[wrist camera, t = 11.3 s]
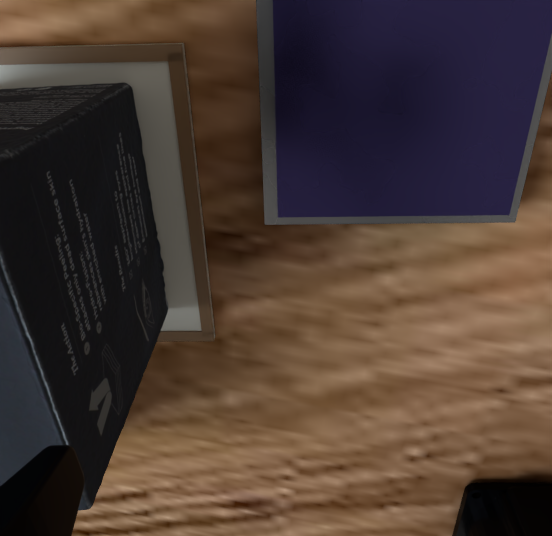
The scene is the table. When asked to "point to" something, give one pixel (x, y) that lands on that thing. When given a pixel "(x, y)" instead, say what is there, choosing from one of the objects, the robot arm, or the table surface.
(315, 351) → the table surface
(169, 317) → the card
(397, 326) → the table surface
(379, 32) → the ink pad
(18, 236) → the box
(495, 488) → the robot arm
